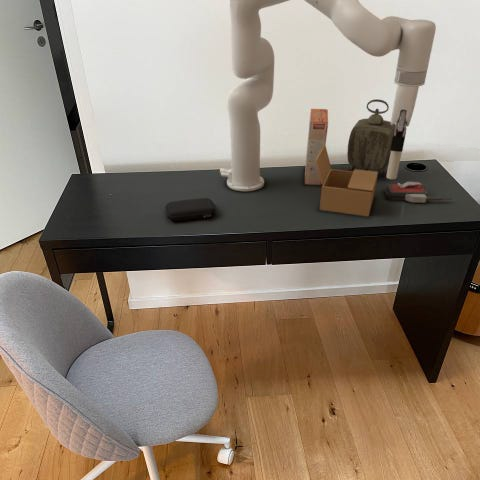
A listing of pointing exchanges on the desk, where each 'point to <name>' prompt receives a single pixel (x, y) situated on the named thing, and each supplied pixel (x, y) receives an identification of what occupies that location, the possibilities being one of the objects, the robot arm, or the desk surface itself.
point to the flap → (323, 164)
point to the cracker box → (315, 144)
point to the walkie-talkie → (410, 192)
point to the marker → (394, 163)
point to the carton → (348, 191)
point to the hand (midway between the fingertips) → (396, 148)
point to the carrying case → (190, 209)
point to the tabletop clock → (371, 142)
